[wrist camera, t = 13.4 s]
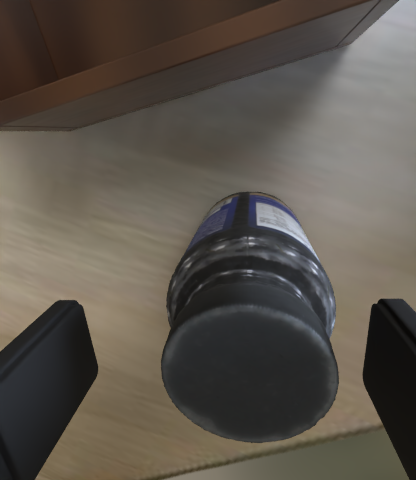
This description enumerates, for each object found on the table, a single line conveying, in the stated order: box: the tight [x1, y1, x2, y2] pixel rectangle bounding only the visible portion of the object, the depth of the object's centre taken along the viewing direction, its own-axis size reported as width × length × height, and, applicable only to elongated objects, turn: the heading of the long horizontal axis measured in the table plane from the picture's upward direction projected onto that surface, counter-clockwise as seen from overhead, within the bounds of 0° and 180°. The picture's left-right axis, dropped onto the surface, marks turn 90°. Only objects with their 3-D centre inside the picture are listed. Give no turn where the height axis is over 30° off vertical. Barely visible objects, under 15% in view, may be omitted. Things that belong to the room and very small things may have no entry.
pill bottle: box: [161, 192, 339, 443], centre depth 13 cm, size 6×6×11 cm
